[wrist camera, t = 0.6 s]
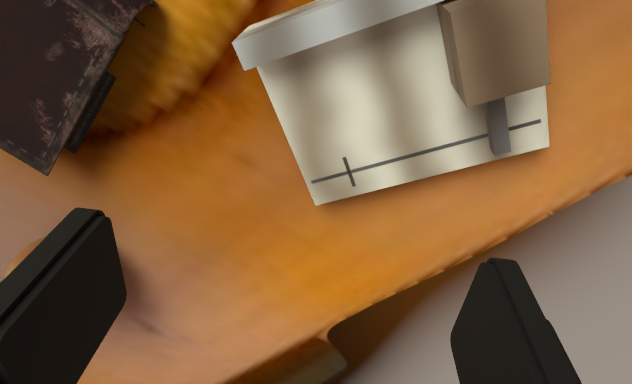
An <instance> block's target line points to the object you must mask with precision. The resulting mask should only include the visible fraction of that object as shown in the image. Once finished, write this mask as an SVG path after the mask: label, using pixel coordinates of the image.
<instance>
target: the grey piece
mask: <svg viewBox="0 0 632 384" xmlns="http://www.w3.org/2000/svg"><path fill="white" fill-rule="evenodd" d="M441 1H444V0H316V1H313V2H310V3H308V4H305V5H303V6H300V7H297V8H295V9H292V10H289V11H287V12H284V13H282V14H279V15H276V16H274V17H271V18H268V19H266V20H263V21H261V22H258V23H255V24H253V25H250V26H248V27H247V28H246V29H245V30H244V31H243V32H242V33H241V34H240V35H239V36H238V37H237V38H236V39H235V40H234V41H233V42H232V44H233V46H234V49H235V51H236V53H237V55H238V58H239V60H240V62H241V64H242V67H243V69H244V71H246V70H248V69H251V68H254V67H257V69H258V72H259V74H260V76H261V79H262V81H263V83H264V86H265V88H266V90H267V93H268V95H269V97H270V100H271V102H272V105H273V107H274V109H275V112H276V114H277V116H278V119H279V121H280V123H281V126H282V128H283V130H284V133H285V135H286V137H287V140H288V142H289V144H290V147H291V149H292V151H293V154H294V156H295V158H296V161H297V163H298V165H299V168H300V170H301V172H302V175H303V177H304V179H305V182H306V184H307V187H308V189H309V191H310V194H311V196H312V198H313V201H314V203H315V205H320V204H324V203H328V202H332V201H336V200H340V199H344V198H348V197H352V196H356V195H360V194H364V193H368V192H372V191H376V190H380V189H384V188H387V187H391V186H395V185H399V184H403V183H407V182H411V181H415V180H419V179H423V178H427V177H431V176H435V175H439V174H443V173H447V172H451V171H455V170H459V169H463V168H467V167H470V166H474V165H478V164H482V163H486V162H490V161H494V160H498V159H502V158H506V157H510V156H514V155H518V154H522V153H526V152H530V151H534V150H538V149H542V148H546V147H549V132H548V117H547V102H546V88H545V86H542V87H538V88H535V89H531V90H528V91H524V92H521V93H517V94H514V95H510V96H507V97H505V105H506V113H507V122H508V130H509V138H510V146H511V152H509V153H505V154H501V155H497V156H494V154H493V153H492V151H491V149H490V144H489V137H488V131H487V124H486V117H485V111H484V104H483V103H482V104H479V105H475V106H472V107H469V108H466V106H465V104H464V103H463V101H462V100H461V98H460V97H459V95H458V93H457V92H456V90H455V89H454V87H453V85H452V84H451V80H450V75H449V70H448V64H447V59H446V54H445V48H444V43H443V38H442V32H441V27H440V22H439V16H438V11H437V6H436V3H438V2H441Z"/></svg>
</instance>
